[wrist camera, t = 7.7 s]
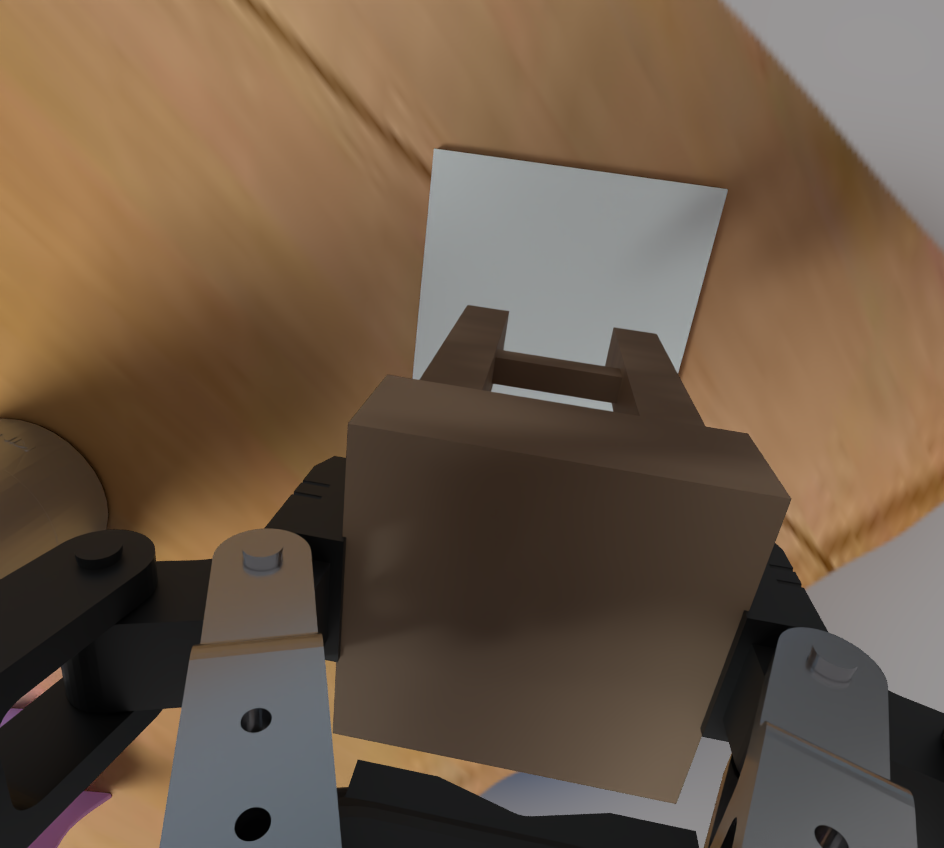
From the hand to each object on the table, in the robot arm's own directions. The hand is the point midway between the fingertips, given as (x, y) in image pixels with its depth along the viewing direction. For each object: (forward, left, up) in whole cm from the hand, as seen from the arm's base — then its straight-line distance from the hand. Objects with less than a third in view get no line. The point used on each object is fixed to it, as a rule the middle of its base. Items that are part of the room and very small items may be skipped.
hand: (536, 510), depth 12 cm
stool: (0, 0, -5) cm, 5 cm away
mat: (0, 0, -18) cm, 18 cm away
